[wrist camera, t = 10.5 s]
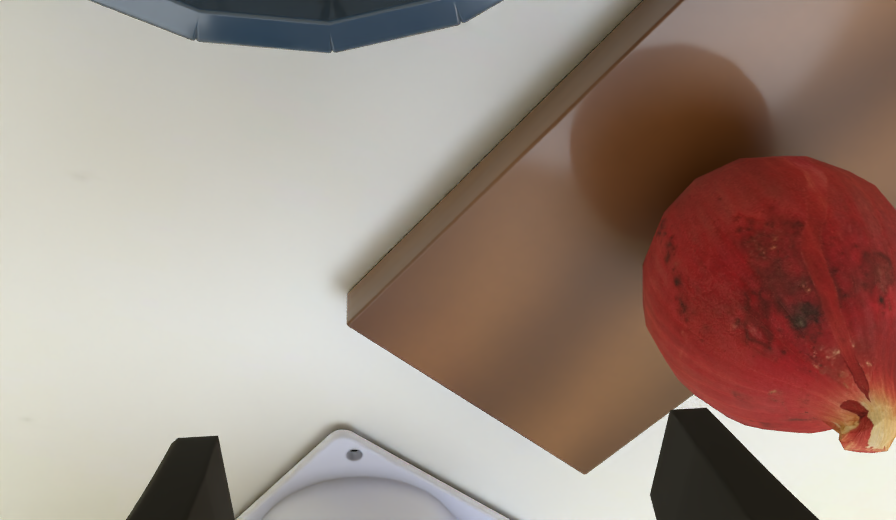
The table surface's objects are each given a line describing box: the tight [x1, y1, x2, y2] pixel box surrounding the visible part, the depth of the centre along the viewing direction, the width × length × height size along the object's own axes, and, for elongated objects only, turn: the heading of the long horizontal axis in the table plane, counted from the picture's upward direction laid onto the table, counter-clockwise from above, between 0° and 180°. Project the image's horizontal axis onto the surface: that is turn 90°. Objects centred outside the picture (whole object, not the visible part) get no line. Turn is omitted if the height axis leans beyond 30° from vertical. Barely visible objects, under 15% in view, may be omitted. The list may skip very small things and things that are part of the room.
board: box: [347, 0, 896, 474], centre depth 21 cm, size 10×18×2 cm, turn 137°
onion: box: [643, 156, 896, 453], centre depth 17 cm, size 6×6×8 cm
